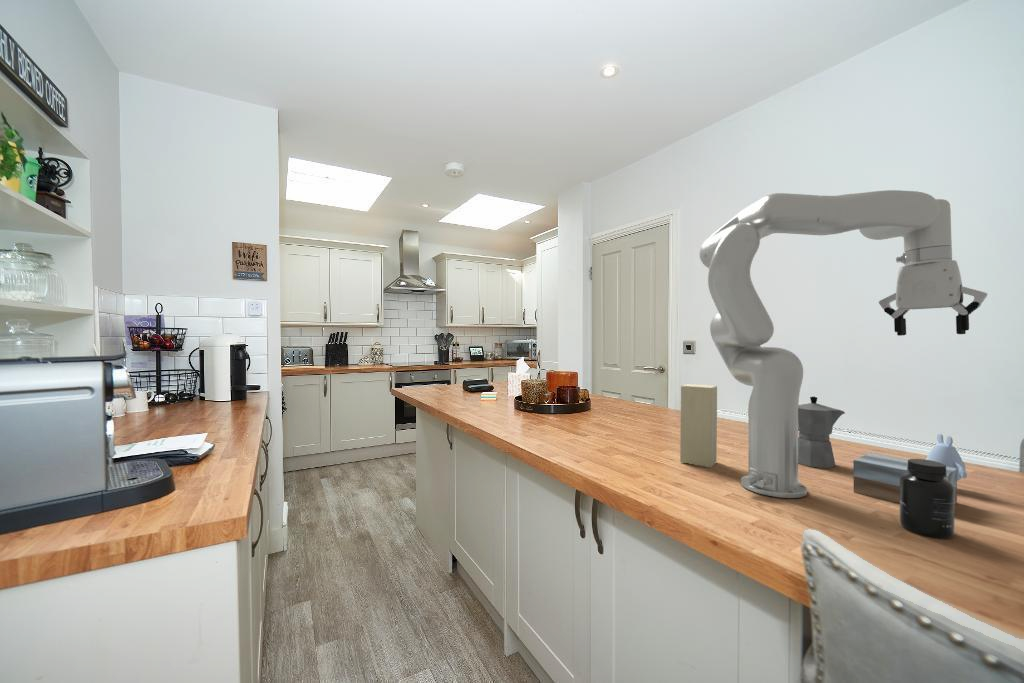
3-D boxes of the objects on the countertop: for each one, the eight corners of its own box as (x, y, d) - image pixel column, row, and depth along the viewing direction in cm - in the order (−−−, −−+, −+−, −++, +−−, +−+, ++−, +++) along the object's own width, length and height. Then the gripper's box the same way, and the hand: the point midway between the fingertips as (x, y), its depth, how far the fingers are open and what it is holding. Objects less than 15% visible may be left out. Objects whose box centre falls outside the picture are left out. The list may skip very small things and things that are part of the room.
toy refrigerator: (718, 461, 115) (717, 385, 114) (711, 468, 109) (711, 387, 109) (687, 456, 120) (687, 383, 119) (680, 462, 114) (679, 385, 114)
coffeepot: (847, 464, 111) (847, 397, 111) (842, 472, 104) (841, 400, 104) (780, 453, 122) (780, 392, 122) (771, 460, 116) (771, 395, 115)
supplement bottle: (889, 522, 76) (888, 457, 76) (923, 521, 77) (923, 456, 77) (929, 541, 69) (929, 468, 69) (966, 539, 70) (966, 467, 70)
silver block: (944, 514, 80) (944, 477, 80) (853, 492, 91) (853, 460, 91) (956, 502, 85) (956, 468, 85) (870, 483, 97) (869, 453, 97)
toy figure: (983, 498, 88) (983, 440, 88) (949, 496, 89) (949, 439, 89) (940, 481, 98) (940, 430, 98) (910, 479, 99) (910, 429, 99)
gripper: (871, 263, 99) (874, 336, 99) (979, 248, 84) (982, 334, 84) (884, 265, 102) (887, 335, 102) (990, 251, 87) (993, 333, 88)
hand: (930, 334), depth 93 cm, fingers open, 9 cm apart
